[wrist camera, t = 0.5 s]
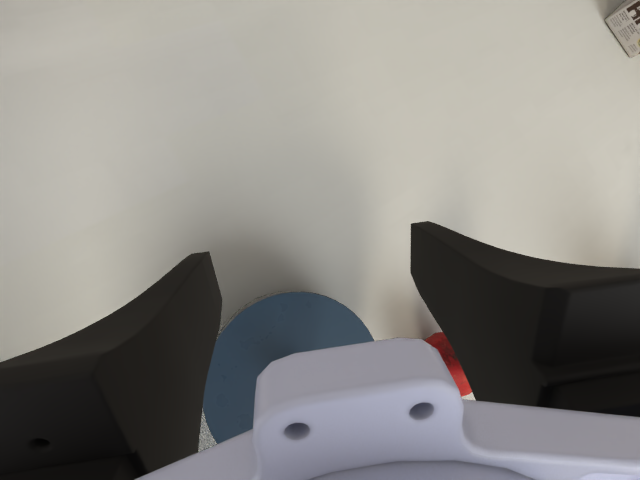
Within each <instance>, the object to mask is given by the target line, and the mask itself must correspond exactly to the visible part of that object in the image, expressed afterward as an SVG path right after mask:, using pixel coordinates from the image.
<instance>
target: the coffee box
mask: <svg viewBox="0 0 640 480" xmlns="http://www.w3.org/2000/svg"><path fill="white" fill-rule="evenodd" d="M605 21H606V23H607V24H608V26H609V27H610V29H611V30H612V31H613V33H614V35H615V36H616V37H617V39H618V40H619V42H620V43H621V45H622V46H623V48H624V49H625V51H626V52H627V54H628V55H629V57H634V56H636V55H638V54H640V0H626V1H625V2H623V3H622V4H621V5H620V6H619V7H618V8H617V9H616V10H615V11H614V12H613V13H612V14H611V15H609V16H608V17H607V18H606V19H605Z"/></svg>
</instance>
